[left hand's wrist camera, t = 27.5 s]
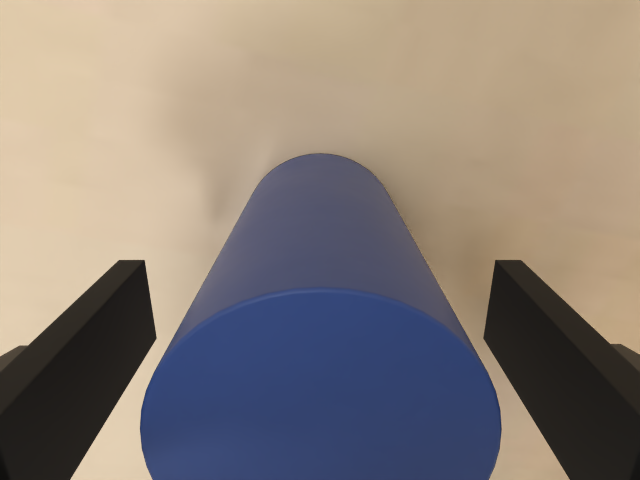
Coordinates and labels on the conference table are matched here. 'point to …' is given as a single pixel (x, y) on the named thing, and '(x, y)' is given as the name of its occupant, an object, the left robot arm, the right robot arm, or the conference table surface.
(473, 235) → the conference table surface
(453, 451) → the canister
